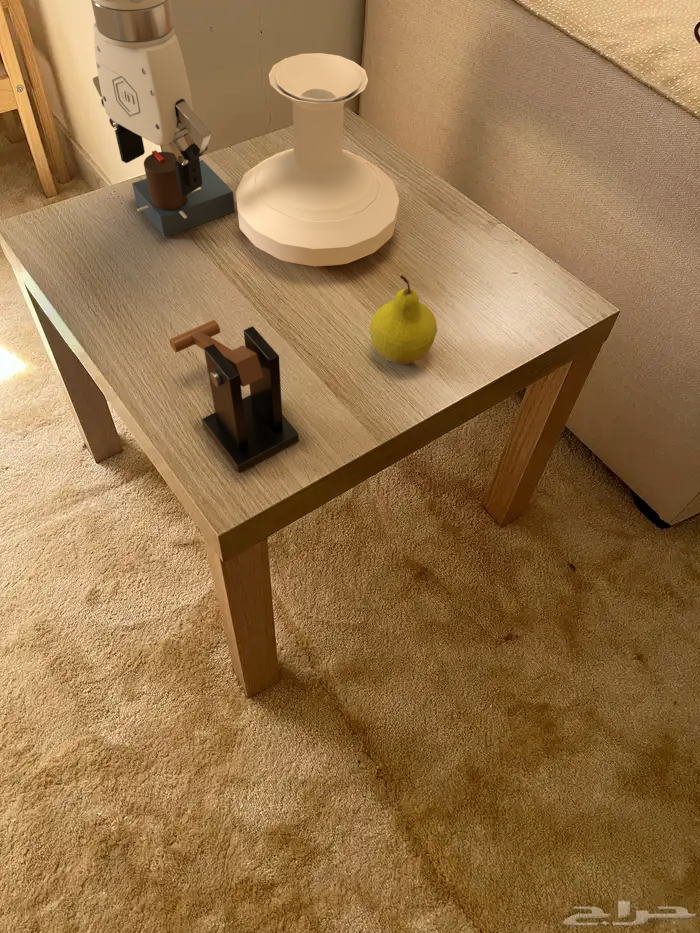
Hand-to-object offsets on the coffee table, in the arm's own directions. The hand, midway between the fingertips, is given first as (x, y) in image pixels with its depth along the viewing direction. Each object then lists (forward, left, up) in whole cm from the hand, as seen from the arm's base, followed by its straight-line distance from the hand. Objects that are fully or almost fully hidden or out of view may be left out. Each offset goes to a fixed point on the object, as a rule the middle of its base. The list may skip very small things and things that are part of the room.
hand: (161, 173), depth 83 cm
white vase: (+19, -1, -7) cm, 20 cm away
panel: (+1, +2, -7) cm, 7 cm away
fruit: (+28, -22, -7) cm, 36 cm away
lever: (+9, -30, 0) cm, 31 cm away
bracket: (+12, -34, -7) cm, 36 cm away
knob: (0, 0, -4) cm, 4 cm away
